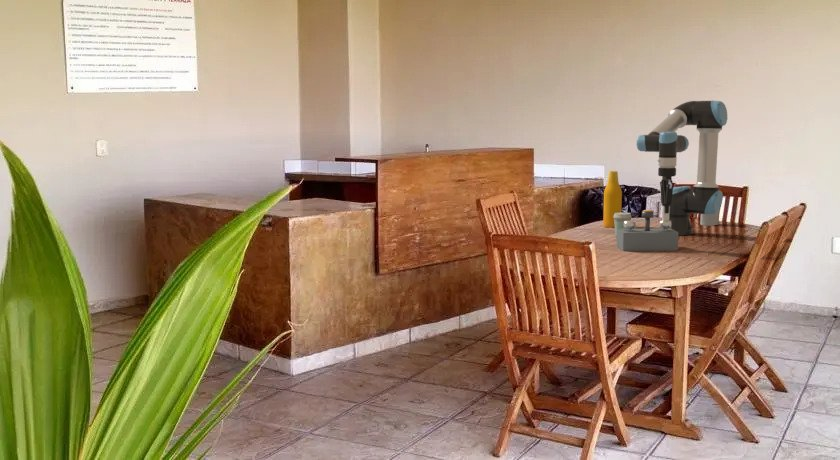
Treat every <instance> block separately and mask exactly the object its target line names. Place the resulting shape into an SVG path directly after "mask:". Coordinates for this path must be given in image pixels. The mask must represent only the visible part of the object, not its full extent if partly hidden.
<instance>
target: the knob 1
mask: <svg viewBox="0 0 840 460" xmlns="http://www.w3.org/2000/svg"><path fill="white" fill-rule="evenodd" d="M624 228H625V229H627V231H632V229H636V221H635V220H631V221H624Z"/></svg>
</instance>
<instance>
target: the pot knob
mask: <svg viewBox="0 0 840 460" xmlns="http://www.w3.org/2000/svg"><path fill="white" fill-rule="evenodd" d="M654 212H655V211H653V210H652V209H644V210H642V211H641V218H644V219H645V221H644V225H645V226H644V229H645V231H650V229H651V227H650V226H651V219H652V218H653V219H654Z"/></svg>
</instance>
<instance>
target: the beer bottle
mask: <svg viewBox="0 0 840 460" xmlns="http://www.w3.org/2000/svg"><path fill="white" fill-rule="evenodd" d="M619 183H620V181H619V173H618V170H609V172H608V179H607V183H606V186H605V188H604V191H603V219H602V220H603V221H602V224H603V227H605V228H608V227H610V228H614V229H615V223H614V214H615V213H618V212H622V204H623V203H622V199H623V191H622V188H621V186H620V184H619ZM610 228H609V229H610Z"/></svg>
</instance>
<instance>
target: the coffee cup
mask: <svg viewBox="0 0 840 460" xmlns="http://www.w3.org/2000/svg"><path fill="white" fill-rule="evenodd" d="M624 221H632V215H631V212H626V211H625V212H624V211H623V212H622V211H621V212H618V213H615V214H614V223H615V228H614V231H615V232H614V233H615V239H617V229H625V228H624Z"/></svg>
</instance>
